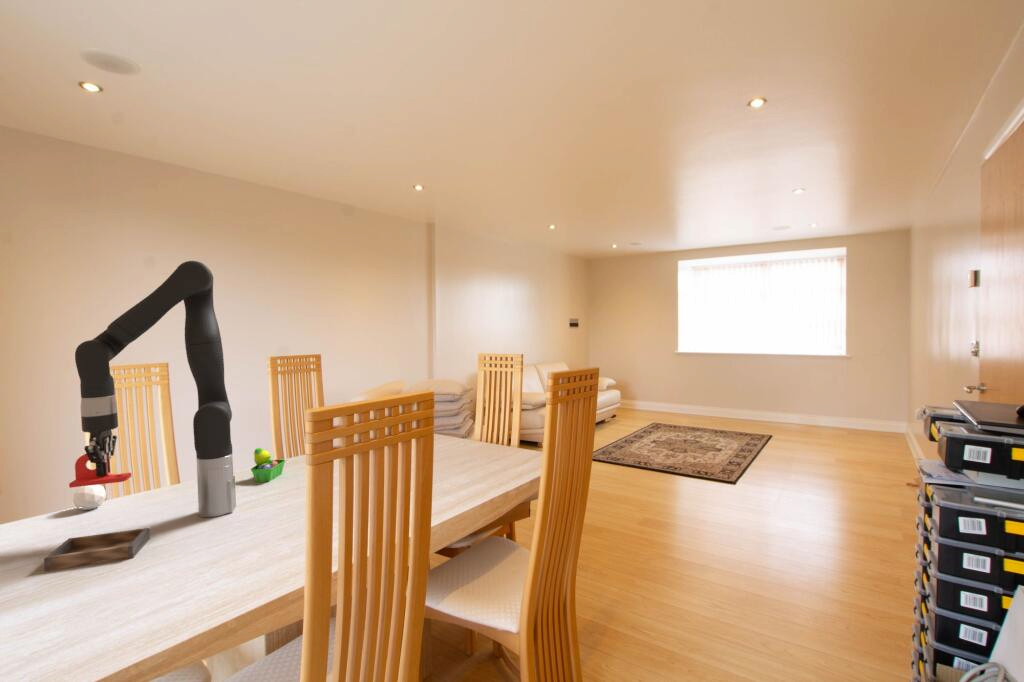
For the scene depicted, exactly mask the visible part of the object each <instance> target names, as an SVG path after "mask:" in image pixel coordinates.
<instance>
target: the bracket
mask: <svg viewBox="0 0 1024 682" xmlns="http://www.w3.org/2000/svg"><path fill="white" fill-rule="evenodd" d="M88 462H90V460H89V458H88V456H87V454H86V453H84V454H83V455H81V456H80V457H78V458H77V459H76V461H75V464H74V471H75V473H74V475H75V476H74V477H75V479H74V480H73V481H71V482H69V483H68V485H69V487H68V488H69V489H71V488H80V487H82V486H89V485H105V484H115V483H122V482H125V481H127V480H129V479H131V477H132V472H123V473H116V474H111V472H110V473H109V472H108V461H106V462H107V475H106V476H101V477H97V476H96V468H93V469H90V468H88V467H87V463H88Z"/></svg>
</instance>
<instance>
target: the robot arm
mask: <svg viewBox="0 0 1024 682" xmlns="http://www.w3.org/2000/svg"><path fill="white" fill-rule="evenodd" d="M182 301H183V304H184V309H185V319H184V344H185V345H184V346H185V347H184V348H185V353H186V358H187V363H188V366H189V369H190V372H191V374H192V378H193V380H194V382H195V386H196V390H197V408H198V409H197V411H196V412H195V413H194V416H193V423H192V425H193V426H192V427H193V429H192V430H193V440H194V441H193V442H194V444H193V445H194V450H195V455H196V479H197V480H196V481H197V500H198V501H197V503H198V516H199V517H202V518H213V517H214V518H215V517H220V516H223V515H227V514H231V513H233V512H234V510H235V508H236V506H237V497H236V476H235V475H234V464H233V463H234V461H233V459H234V458H233V444H232V440H231V439H232V436H231V421H232V417H233V412H232V409H231V405H230V401H229V397H228V393H227V390H226V383H225V362H224V361H225V360H224V350H223V343H222V337H221V331H220V327H219V323H218V320H217V316H216V312H215V308H214V307H215V306H214V305H215V304H214V275H213V273H212V271H211V270H210V268H209V267H208V265H205V263H203V262H200V261H197V260H188V261H184V262H182V263H180V264H179V265H178V266H177V267H176V269H175V270H174V271H173V272H172V273H171V274H170V275H169V276H168V278H166V279H165V280H164V282H162V283H161V285H159V286H158V287H157V288H156V289H155V290H153V291H152V292H151V293H150V294H149V295H147V296H146V297H145V298H143V299H142V300H140V301H139V302H137V303H136V304H135V305H133V306H132V307H130V308H129V309H128V310H126V311H125V312H124V313H122V314H121V315H120V316H118V317H117V318H116V319H114V320H113V321H112V322H110V324H109V325H107V327H106V329H105V330H104V331H102V332H101V333H99V334H98V335H96V337H94V338H92V339H90V340H85V341H83V342H81V343H80V344H78V346H77V347H76V349H75V353H74V357H75V358H74V360H75V365H76V366H75V367H76V369H77V370H76V371H77V374H78V376H79V381H80V387H79V389H80V398H81V399H80V417H81V418H80V419H81V430H82V432H83V433H89V440H88V444H89V445H85V446H84V451H85V454H87V456H88V458H89V462H90V464H95V469H96V476H97V477H101V476H106V475H107V462H106V461H108V472H109V473H110V474H111V462H110V461H111V460H112V456H114V454H115V449H116V442H117V439H118V437H117V435H113V433H112V430H114V429H115V430H116V429H117V428H118V427H119V421H118V420H119V419H118V418H119V417H118V405H117V399H116V391H115V380H114V378H113V376H112V375H111V369H110V361H112V360H113V359H114V358H116V356H118V355H119V354H120V353H121V352H122V351H124V350H125V348H127V346H129V345H130V344H131V343H133V342H134V341H136V340H137V339H138V338H140V337H141V336H142V335H144V334H145V333H146V332H147V331H149V330H150V329H151V328H152V327H154V325H156V324H157V323H158V322H159V321H160V320H161V319H162V318H163V317H164V316H165V315H166V314H168V312H169V311H170V310H172V309H174V307H175V306H177V305H178V304H179V303H181V302H182Z"/></svg>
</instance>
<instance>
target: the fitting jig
mask: <svg viewBox="0 0 1024 682" xmlns="http://www.w3.org/2000/svg"><path fill="white" fill-rule="evenodd" d="M150 539H151V534H150V527H145V528H138V529H137V528H136V529H130V530H129V529H128V530H124V531H123V530H122V531H116V532H115V531H114V532H107V533H98V534H93V535H92V534H91V535H84V536H78V537H69V538H68V539H66V540H65V541H64V542H63V543H62V544H60V545H59V546H58V547H56V548H55V549H54V550H53V551H51V552H50V553H49V554H47V555H46V556H44V557H43V565H44V568H43V569H44V572H49V571H54V570H55V571H56V570H62V569H67V568H68V569H69V568H74V567H81V566H87V565H93V564H101V563H107V562H114V561H120V560H121V561H122V560H129V559H134V557H136V555H137V554H139V552H140V551H141V550H142V548H143V547H144V546H145V545H146V544H147V543H148V542H149V540H150Z"/></svg>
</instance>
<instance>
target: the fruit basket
mask: <svg viewBox="0 0 1024 682" xmlns="http://www.w3.org/2000/svg"><path fill="white" fill-rule="evenodd" d="M271 455H272V454H271V453H270V452H269V451H267V450H265V449H263V448H262V447H256V448H255V450H254V452H253V456H254V457H253V461H254V463H255V466H253V467H251V468H250V471H251V473H252V475H253V477H254V481H255V482H262V483H265V482H269V483H270V482H271V481H273V480H275V479H276V478H278V476H280V475H282V474H283V473H282V472H283V470H284V465H285V463H286V459H271V458H272V456H271Z"/></svg>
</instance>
